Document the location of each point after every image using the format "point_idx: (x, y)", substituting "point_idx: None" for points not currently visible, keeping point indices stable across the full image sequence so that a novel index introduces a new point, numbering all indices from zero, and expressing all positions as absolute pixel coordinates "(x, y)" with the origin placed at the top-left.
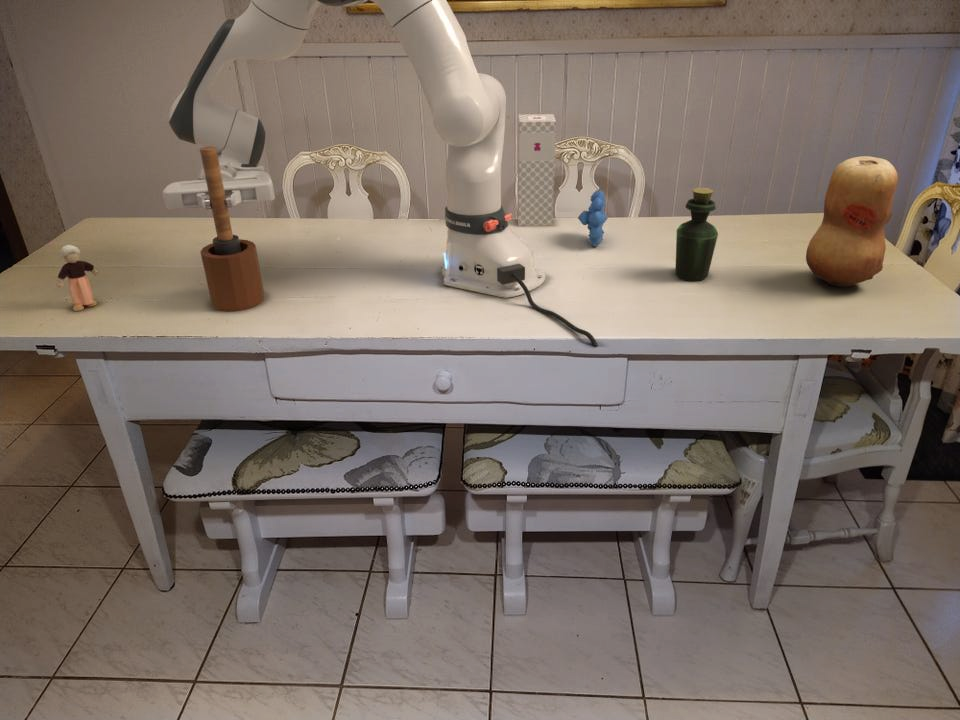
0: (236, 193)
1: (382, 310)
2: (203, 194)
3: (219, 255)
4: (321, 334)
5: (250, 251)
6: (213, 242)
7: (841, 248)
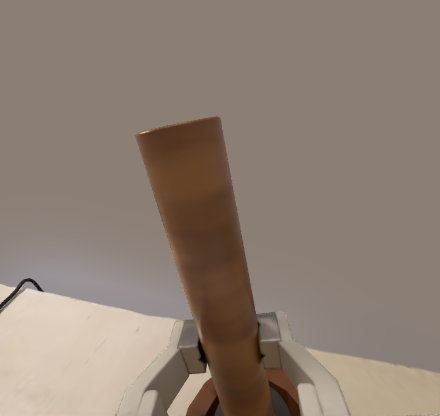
0: (147, 368)
1: (79, 367)
2: (300, 387)
3: (270, 380)
4: (168, 323)
5: (198, 393)
6: (286, 406)
7: None
